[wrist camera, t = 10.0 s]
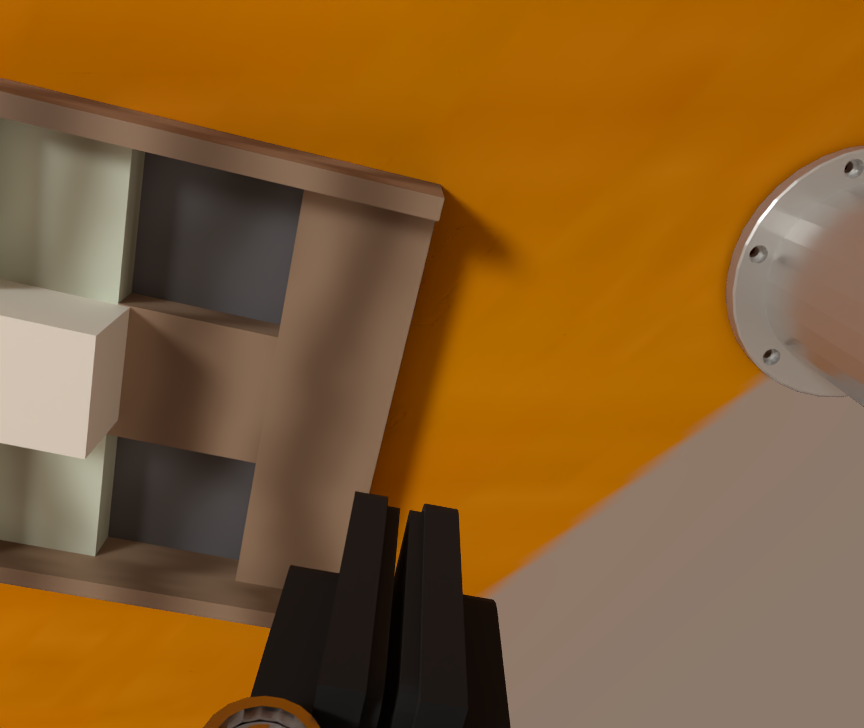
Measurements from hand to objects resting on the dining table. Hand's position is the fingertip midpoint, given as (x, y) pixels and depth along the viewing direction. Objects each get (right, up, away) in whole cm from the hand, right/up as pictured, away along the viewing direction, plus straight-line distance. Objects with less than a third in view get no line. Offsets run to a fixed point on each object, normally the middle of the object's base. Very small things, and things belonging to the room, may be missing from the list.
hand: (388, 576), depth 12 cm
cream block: (-17, +4, +23) cm, 29 cm away
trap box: (-11, +3, +26) cm, 29 cm away
